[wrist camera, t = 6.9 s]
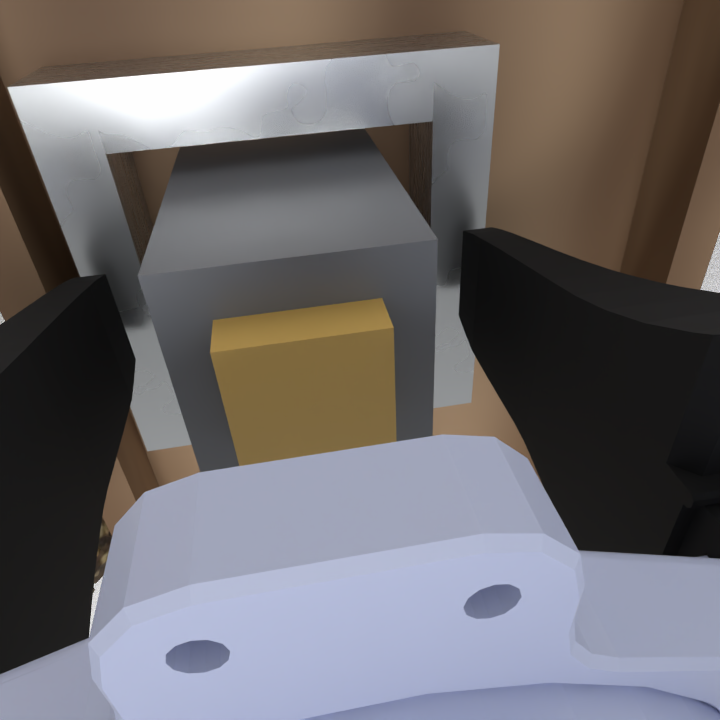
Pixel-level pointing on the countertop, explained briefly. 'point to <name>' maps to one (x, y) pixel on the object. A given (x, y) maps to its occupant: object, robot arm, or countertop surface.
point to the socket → (256, 121)
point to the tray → (508, 153)
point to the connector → (293, 298)
